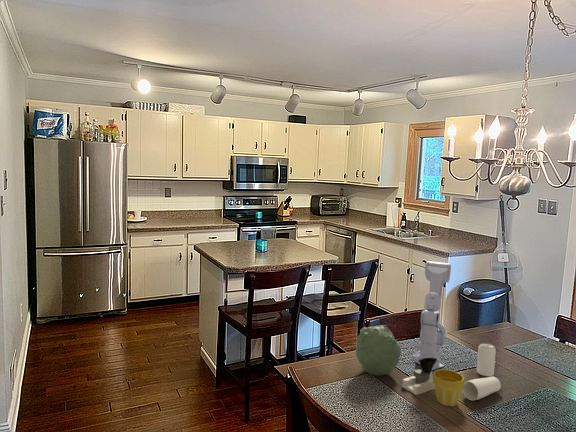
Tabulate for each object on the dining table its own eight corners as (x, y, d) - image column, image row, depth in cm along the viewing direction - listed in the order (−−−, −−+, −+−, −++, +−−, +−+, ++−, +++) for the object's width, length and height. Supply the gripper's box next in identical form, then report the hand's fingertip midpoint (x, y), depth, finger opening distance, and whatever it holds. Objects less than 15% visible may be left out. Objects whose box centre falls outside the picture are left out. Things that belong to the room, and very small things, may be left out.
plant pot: (434, 391, 165) (436, 366, 164) (464, 399, 160) (466, 373, 158) (428, 403, 156) (430, 377, 155) (459, 412, 151) (461, 385, 150)
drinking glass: (500, 396, 165) (475, 405, 157) (484, 385, 170) (459, 392, 162) (505, 381, 163) (481, 388, 155) (489, 370, 169) (465, 377, 160)
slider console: (402, 386, 167) (402, 379, 167) (428, 377, 175) (429, 370, 175) (416, 395, 161) (417, 387, 161) (443, 385, 169) (444, 377, 169)
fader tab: (412, 381, 168) (413, 370, 168) (418, 379, 170) (419, 369, 170) (423, 387, 164) (424, 376, 164) (428, 385, 166) (429, 374, 165)
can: (495, 378, 177) (498, 349, 176) (478, 375, 178) (480, 347, 177) (491, 370, 183) (493, 343, 182) (474, 368, 185) (477, 341, 183)
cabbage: (408, 376, 175) (411, 328, 173) (372, 388, 165) (376, 336, 163) (380, 361, 189) (383, 315, 186) (345, 370, 178) (348, 323, 176)
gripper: (424, 348, 160) (421, 384, 161) (449, 341, 167) (447, 375, 169) (409, 341, 165) (406, 376, 167) (434, 335, 173) (432, 368, 175)
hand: (425, 375), depth 168 cm, fingers closed
